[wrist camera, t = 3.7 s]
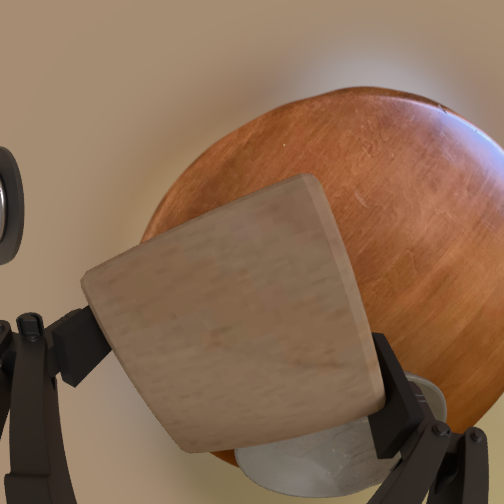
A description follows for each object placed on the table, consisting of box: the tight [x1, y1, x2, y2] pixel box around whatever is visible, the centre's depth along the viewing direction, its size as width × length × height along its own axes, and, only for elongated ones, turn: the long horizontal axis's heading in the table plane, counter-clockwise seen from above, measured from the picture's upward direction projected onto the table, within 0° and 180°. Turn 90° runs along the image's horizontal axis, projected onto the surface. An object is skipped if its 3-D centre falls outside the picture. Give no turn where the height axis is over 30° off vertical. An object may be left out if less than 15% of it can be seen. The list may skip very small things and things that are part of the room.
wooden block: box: [80, 174, 386, 453], centre depth 19 cm, size 10×10×20 cm
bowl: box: [235, 370, 447, 498], centre depth 30 cm, size 27×28×8 cm
